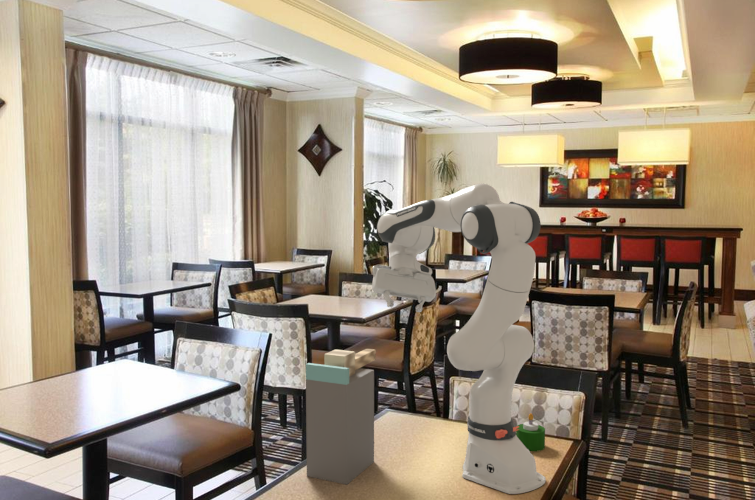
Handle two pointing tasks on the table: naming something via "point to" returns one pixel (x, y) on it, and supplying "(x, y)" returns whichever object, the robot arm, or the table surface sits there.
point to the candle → (531, 435)
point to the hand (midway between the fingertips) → (404, 308)
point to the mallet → (349, 359)
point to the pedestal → (339, 422)
